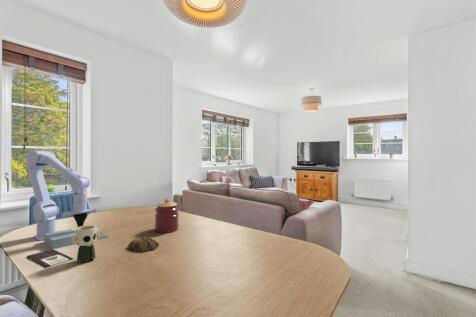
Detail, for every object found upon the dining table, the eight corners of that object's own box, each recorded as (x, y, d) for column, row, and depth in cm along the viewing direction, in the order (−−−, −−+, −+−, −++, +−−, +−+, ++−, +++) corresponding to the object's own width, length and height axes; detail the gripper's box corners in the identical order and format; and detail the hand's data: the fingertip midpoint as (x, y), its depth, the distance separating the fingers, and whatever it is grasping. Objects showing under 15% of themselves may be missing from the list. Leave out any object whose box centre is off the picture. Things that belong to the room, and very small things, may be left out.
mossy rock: (124, 247, 113) (124, 236, 113) (150, 241, 122) (150, 231, 122) (137, 255, 105) (137, 243, 105) (164, 247, 114) (164, 236, 114)
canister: (183, 228, 143) (183, 197, 143) (165, 234, 132) (165, 201, 132) (167, 225, 150) (167, 195, 150) (149, 230, 139) (149, 198, 139)
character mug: (77, 267, 92) (77, 232, 92) (66, 263, 96) (66, 229, 96) (104, 256, 102) (104, 225, 102) (93, 253, 105) (93, 223, 105)
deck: (44, 242, 119) (44, 233, 119) (71, 236, 128) (71, 228, 128) (52, 249, 110) (52, 240, 110) (80, 242, 119) (80, 234, 119)
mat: (71, 235, 129) (71, 235, 129) (96, 230, 138) (96, 230, 138) (82, 242, 118) (82, 242, 118) (108, 236, 128) (108, 236, 128)
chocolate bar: (52, 249, 109) (72, 258, 100) (52, 251, 109) (72, 260, 100) (26, 255, 102) (46, 266, 92) (26, 258, 102) (46, 269, 92)
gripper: (65, 204, 116) (65, 233, 117) (98, 200, 128) (98, 227, 128) (61, 202, 121) (61, 230, 121) (93, 199, 132) (93, 224, 132)
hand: (80, 228), depth 125 cm, fingers closed
